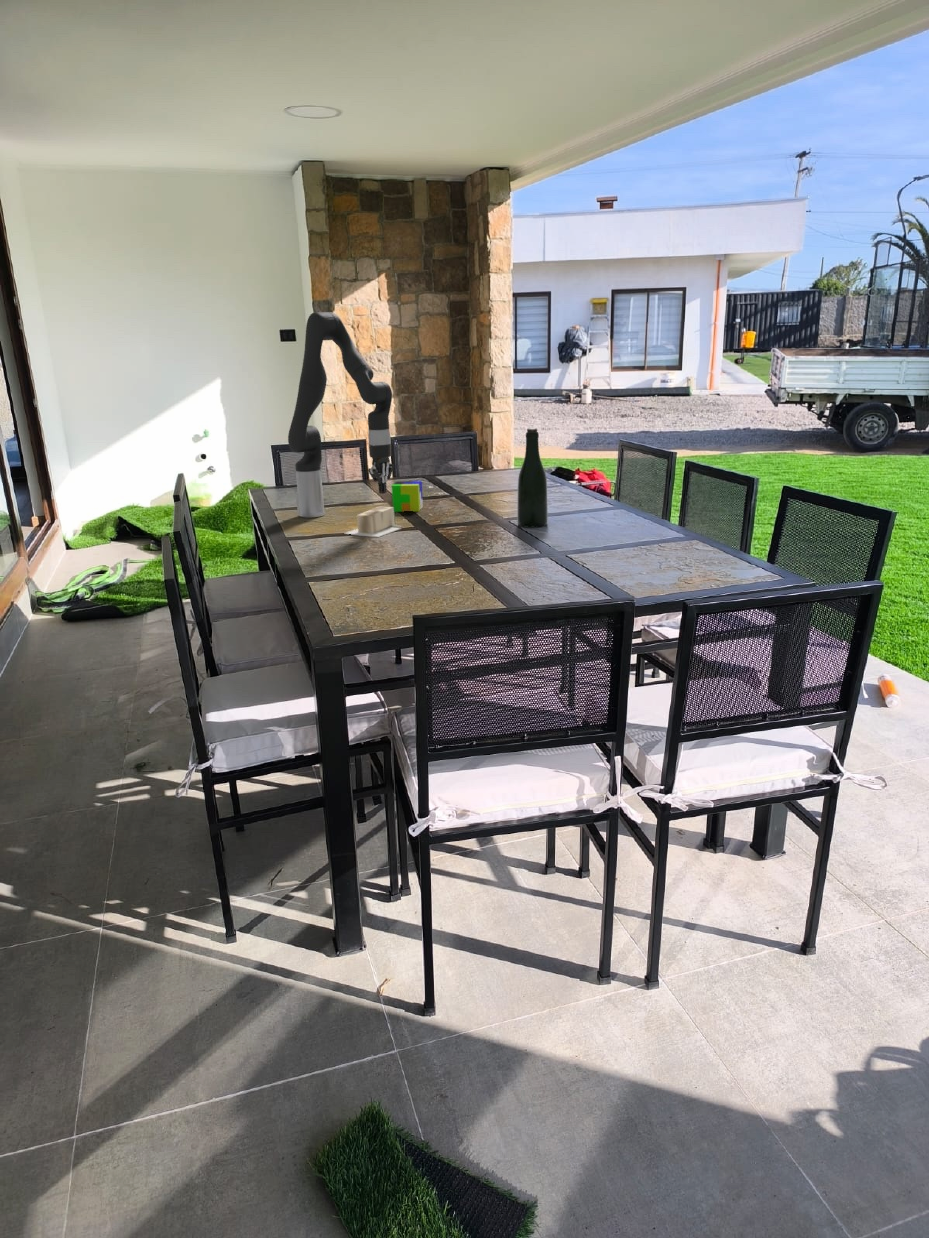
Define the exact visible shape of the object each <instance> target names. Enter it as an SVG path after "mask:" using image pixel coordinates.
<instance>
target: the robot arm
mask: <svg viewBox="0 0 929 1238" xmlns="http://www.w3.org/2000/svg"><path fill="white" fill-rule="evenodd" d="M305 326H306V327H305V341H304V342H305V343H304V353H303V359H302V360H303V361H302V367H301V372H300V377H299V383H298V391H297V398H296V401H295V402H296V403H295V406H294V407H295V408H294V413H293V416H292V419H291V422H290V426H289V430H288V435H287V442H288V443H287V444H288V447H289V448H290V451H292V452H293V453H296V454H298V453H303V456H302V457H301V458H300V459H299V460H298V461H296V463H295V476H296V477H295V478H296V487H297V490H296V491H295V498H296V508H297V510H296V511H297V516H299V517H301V518H319V517H323V516H325V504H324V503H325V502H324V493H323V491H324V489H323V482H322V468H321V464H322V462H323V461H322V460H323V459H322V458H323V456H322V455H323V454H322V438H321V434H320V431H319V430H318V428H317V427H316V426H315V425H309V422H310V420H311V418H312V415H313V414H314V413H315V411H316V410H317V408H318V407H319V405H320V404H321V402H322V401H323V399H324V397H325V393H326V387H327V382H328V381H327V380H328V379H327V373H326V370H325V367H324V364H323V361H322V355H321V354H322V347H323V342H324V341H332V342H334V343H335V345H337V347H338V348H339V350H340V352H341V359H342V364H343V366H344V369H345V370H346V372H347V373H348V374H349V376H350V377H351V378H352V380H353V381H354V382H355V385H356V388H357V390H358V394H359V395H360V397H361V399H362V400H363V402H365V404H369V405H375V406H374V409H373V411H370V412H369V413H368V415H367V423H368V425H367V427H368V436H367V437H368V450H369V451H368V452H369V454H368V455H369V457H370V458H372V460H371V465H372V466H371V468H368V469H367V471H368V473H369V475H370V477H371V478H372V481H373V482H374V483H378V484H377V485H378V493H379V494H387V492H388V491H387V489H388V487H387V482H388V480H390V479H391V476H392V473H393V471H394V468H395V464H393V463H391V461H390V460H391V459H390V457H391V456H392V443H391V440H392V439H391V431H390V422H389V418H390V417H389V415H390V411H391V406H392V400H393V392H392V391H393V390H392V388H391V386H390V385H389V383H387V382H386V381H377V382H376V381H375V382H373V381H372V380H373V379H374V371H373V369H372V368H371V367H370V365H369V364H368V363H367V361H366V360H365V359H364V357H363V356H362V355H361V353H360V352H359V350H358V349H357V347H356V346H355V343H354V342H353V339H352V338H351V336H350V334H349V332H348V330H347V329H346V326H345V324H344V322H343V320H341V318H340V317H339V315H338V314H337V313H335V312H333V311H332V312H331V311H315V312H312V313H311V314H310V315H309V316H308V318H307V322H306V325H305Z"/></svg>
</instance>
